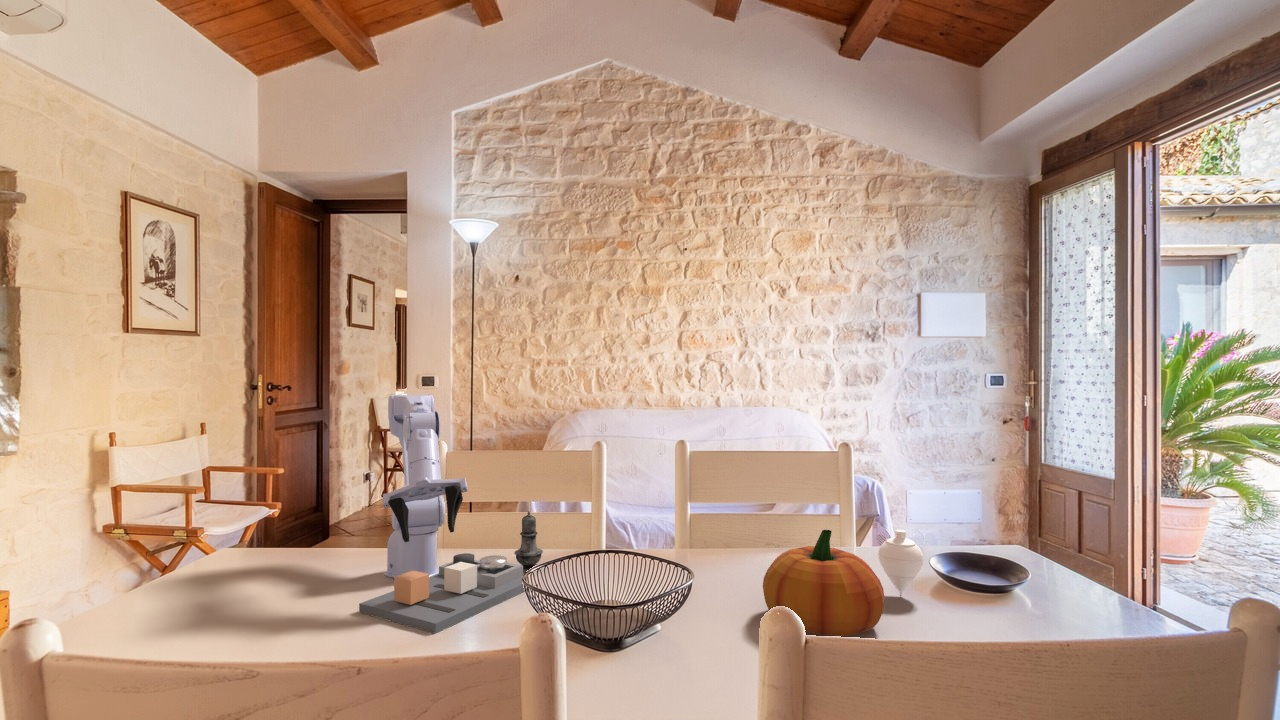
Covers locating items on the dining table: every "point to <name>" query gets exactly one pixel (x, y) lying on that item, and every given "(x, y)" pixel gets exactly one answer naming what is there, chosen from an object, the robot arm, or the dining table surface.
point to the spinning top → (900, 560)
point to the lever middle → (460, 577)
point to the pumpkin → (825, 589)
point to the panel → (449, 600)
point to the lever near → (411, 587)
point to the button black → (464, 558)
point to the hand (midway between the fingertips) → (428, 534)
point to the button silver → (493, 563)
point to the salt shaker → (528, 544)
